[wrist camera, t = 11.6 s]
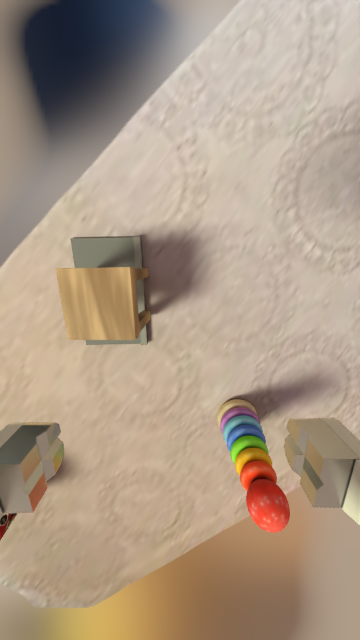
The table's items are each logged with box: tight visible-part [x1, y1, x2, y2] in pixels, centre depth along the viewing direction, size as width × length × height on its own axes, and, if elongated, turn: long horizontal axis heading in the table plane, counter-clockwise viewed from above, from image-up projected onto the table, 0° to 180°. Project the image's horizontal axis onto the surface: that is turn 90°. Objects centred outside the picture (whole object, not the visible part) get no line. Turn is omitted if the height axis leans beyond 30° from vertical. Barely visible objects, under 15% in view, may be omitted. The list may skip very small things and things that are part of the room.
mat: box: [71, 237, 148, 345], centre depth 35 cm, size 11×18×1 cm, turn 1°
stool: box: [56, 267, 151, 340], centre depth 30 cm, size 10×9×9 cm
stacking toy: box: [217, 399, 290, 532], centre depth 33 cm, size 8×8×19 cm
